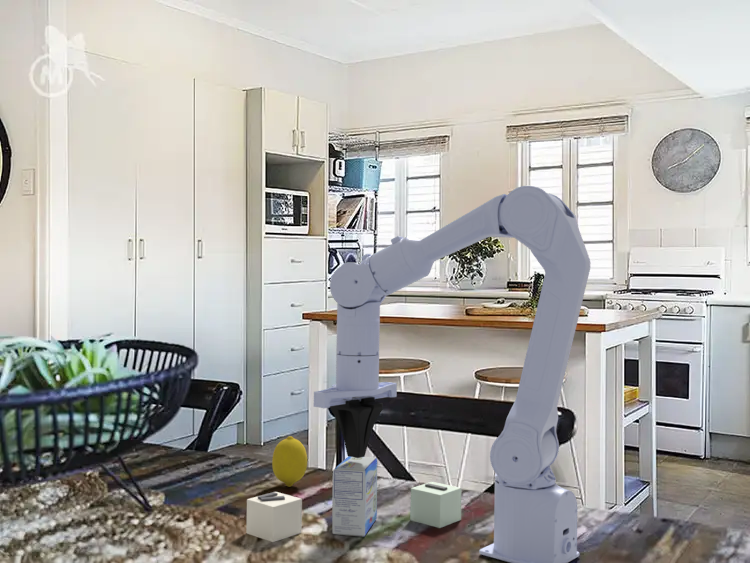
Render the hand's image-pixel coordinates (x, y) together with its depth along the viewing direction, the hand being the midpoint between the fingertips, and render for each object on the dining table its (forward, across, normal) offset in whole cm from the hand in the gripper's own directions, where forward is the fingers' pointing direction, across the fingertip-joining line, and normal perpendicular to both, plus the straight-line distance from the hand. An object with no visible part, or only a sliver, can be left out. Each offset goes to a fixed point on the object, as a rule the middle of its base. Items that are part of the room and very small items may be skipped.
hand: (355, 456), depth 105 cm
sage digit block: (+10, -10, +6) cm, 15 cm away
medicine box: (+10, 0, 0) cm, 10 cm away
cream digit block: (+10, +9, -6) cm, 14 cm away
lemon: (+10, -8, -21) cm, 24 cm away
